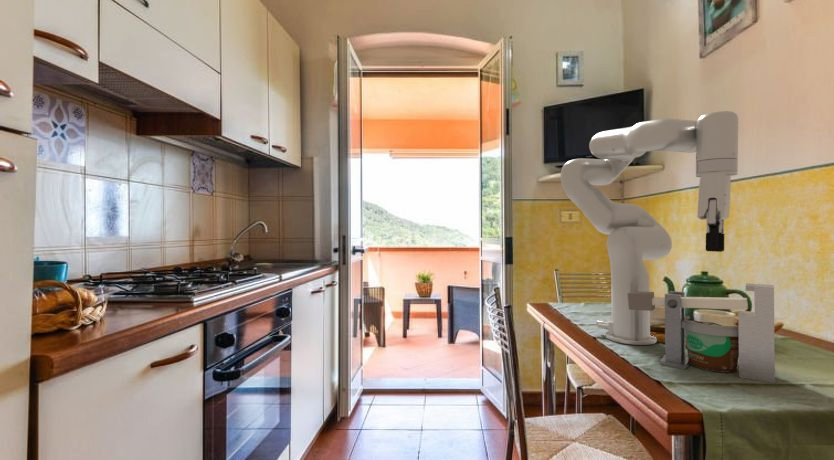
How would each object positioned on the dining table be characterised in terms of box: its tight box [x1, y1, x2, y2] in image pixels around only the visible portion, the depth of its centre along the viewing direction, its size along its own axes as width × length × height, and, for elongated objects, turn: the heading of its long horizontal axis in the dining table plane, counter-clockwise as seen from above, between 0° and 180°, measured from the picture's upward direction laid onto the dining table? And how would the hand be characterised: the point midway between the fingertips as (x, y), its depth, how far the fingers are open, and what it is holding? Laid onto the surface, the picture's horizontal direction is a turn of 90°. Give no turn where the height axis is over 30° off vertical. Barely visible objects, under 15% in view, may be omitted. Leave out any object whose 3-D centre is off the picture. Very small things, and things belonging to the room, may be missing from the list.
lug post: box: [737, 283, 776, 384], centre depth 84 cm, size 6×5×19 cm
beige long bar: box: [628, 291, 749, 312], centre depth 93 cm, size 22×4×4 cm, turn 49°
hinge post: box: [659, 290, 690, 370], centre depth 94 cm, size 5×8×16 cm, turn 139°
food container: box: [681, 315, 739, 373], centre depth 90 cm, size 12×6×10 cm, turn 21°
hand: (714, 251), depth 91 cm, fingers closed
